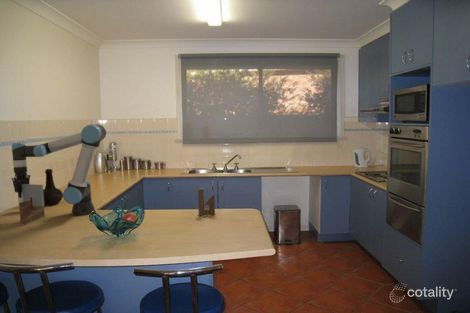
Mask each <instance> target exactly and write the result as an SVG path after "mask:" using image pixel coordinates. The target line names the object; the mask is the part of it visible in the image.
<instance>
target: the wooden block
mask: <svg viewBox="0 0 470 313" xmlns="http://www.w3.org/2000/svg"><path fill="white" fill-rule="evenodd" d="M204 191H205V190H204V188H203V187H200V188H198V189H197V192H198V193H197V194H198V199H197V200H198V216H200V217H201V216H214V215H216V210H215V209H216V208H215V207H216V205H215V204H216V203H215V193H214V192H213V193H211V195H210V196H209V198H208V199H206V200H205V192H204ZM205 206H208V208H205Z"/></svg>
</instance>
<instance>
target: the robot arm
mask: <svg viewBox="0 0 470 313" xmlns="http://www.w3.org/2000/svg"><path fill="white" fill-rule="evenodd" d="M106 135H107V130H106V129H105V127H104V126H103V125H100V124H95V123H94V124H87V125H86V126H84V127H83V128H82V129H81V131H80V132H78V133H74V134H71V135H68V136H64V137H61V138H58V139H55V140H52V141H49V142H45V143H41V144H35V145H26V143H25V142H13V143H11V152H12V153H11V154H12V155H11V156H12V165H13V173H14V176H13V177H11V181H12V183H13V184H12V185H13V189H14V193H17V197H19V200H18V203H19V202H24V200H23V192H22V184H30V178H31V174H28V173H27V172H28V166H27V164H28V163H27V158H41V157H45V156H47V155H50V154H52V153H55V152H59V151H62V150H66V149H69V148H72V147H76V146H79V145H81V148H80V151H79V156H78V158H77V162H76V164H75V169H74V171H73V174H72V179H70V180H69V181H68V183H67V187H66V188H64V190H63V191H62V193H63V198H62V199H63V201H65V202H66V203H68V204H69V205H72V209H71V215H72V216H87V215H91V214H92V213H91V212H92V211H95V212H96V209H95V206H94V204H93V201H92V189H91V186H92V185H91V181H90V180H88V176H89V172H90V168H91V165H92V163H93V159H94V156H95V152H96V150H97V149H98V148H99V147H100V144H101V141H103V140H104V139H105V138H106V137H107V136H106ZM90 213H91V214H90Z"/></svg>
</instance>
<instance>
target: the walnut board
mask: <svg viewBox="0 0 470 313" xmlns="http://www.w3.org/2000/svg"><path fill="white" fill-rule="evenodd" d="M18 206H19V217H20V225H21V224H25V225H27V224H26V223H28V222H30V223H32V222H31V221H33V222H35V221H34V220H36V221H38V220H41V219H43V218H42V217H44V218H45V217H46V215H45V205H44V206H42V207H40V206H33V210H32V209H31V201H25V202H22V203H19V202H18ZM40 218H41V219H40ZM37 219H38V220H37ZM28 224H29V223H28Z"/></svg>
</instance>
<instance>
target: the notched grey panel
mask: <svg viewBox="0 0 470 313" xmlns="http://www.w3.org/2000/svg"><path fill="white" fill-rule="evenodd" d="M43 190H44V185H43V184H34V183H33V184H31V183H29V184H22V192H23V200H24V202H25V201H30V196H32V204H33V206H40V207H42V206H44V207H45V205H44V194H43ZM17 197H18V196H17ZM17 199H18V204H19V203H22V202H19V197H18V198H17Z"/></svg>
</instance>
